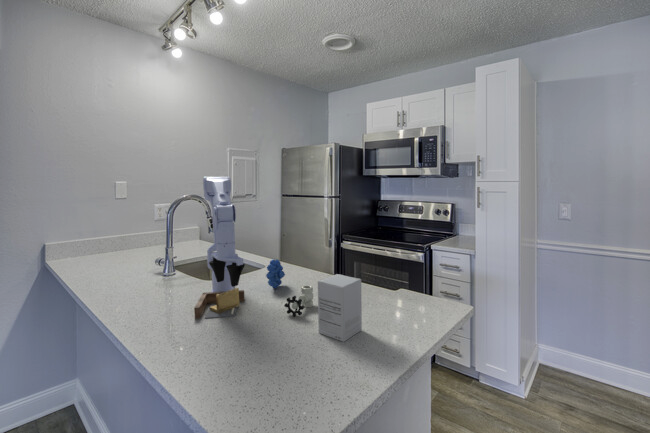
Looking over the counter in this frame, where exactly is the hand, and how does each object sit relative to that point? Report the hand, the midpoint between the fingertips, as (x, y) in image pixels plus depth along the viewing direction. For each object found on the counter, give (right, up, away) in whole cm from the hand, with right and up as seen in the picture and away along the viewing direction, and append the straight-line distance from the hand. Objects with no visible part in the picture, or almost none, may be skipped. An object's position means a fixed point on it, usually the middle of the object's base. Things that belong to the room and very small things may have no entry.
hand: (227, 283), depth 106 cm
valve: (+24, -9, +1) cm, 26 cm away
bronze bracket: (-2, -8, +2) cm, 9 cm away
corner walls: (-3, -9, +2) cm, 10 cm away
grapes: (+13, -7, +22) cm, 27 cm away
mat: (-2, -9, +1) cm, 9 cm away
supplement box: (+36, -11, -15) cm, 40 cm away
